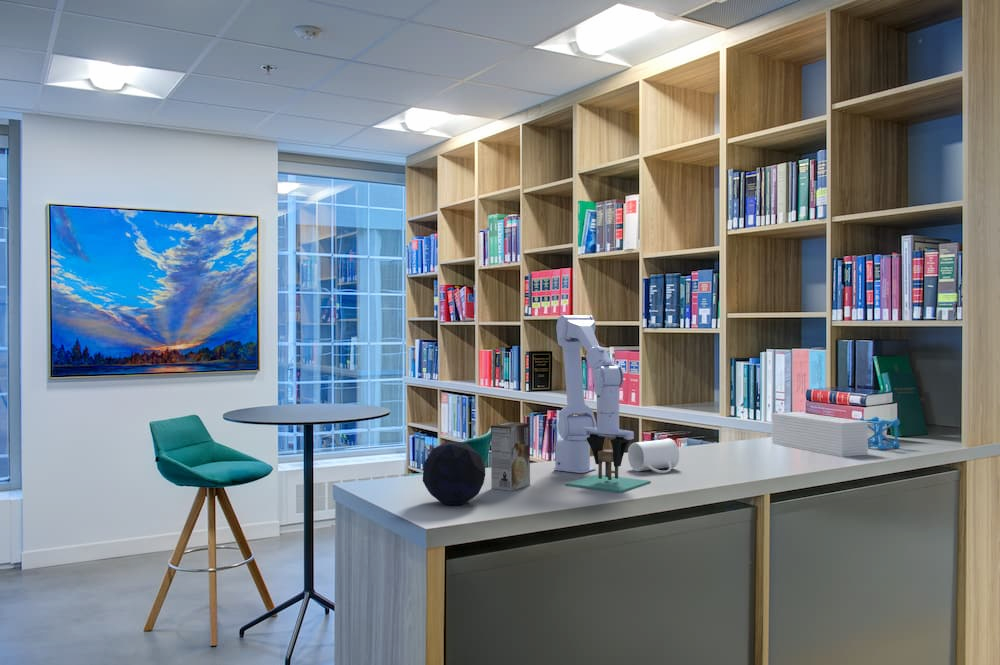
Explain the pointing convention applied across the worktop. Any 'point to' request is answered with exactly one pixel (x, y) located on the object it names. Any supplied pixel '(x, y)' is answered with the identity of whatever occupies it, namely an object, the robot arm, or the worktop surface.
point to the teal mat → (608, 483)
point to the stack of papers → (820, 433)
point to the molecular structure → (881, 432)
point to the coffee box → (510, 456)
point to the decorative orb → (454, 473)
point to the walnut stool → (606, 464)
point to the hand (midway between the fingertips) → (608, 465)
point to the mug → (653, 455)
